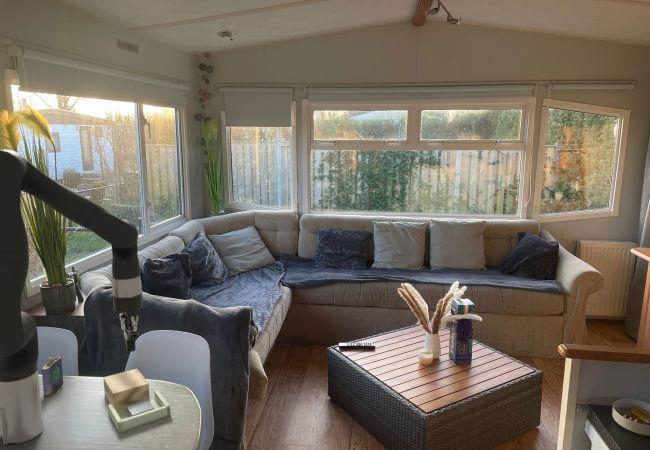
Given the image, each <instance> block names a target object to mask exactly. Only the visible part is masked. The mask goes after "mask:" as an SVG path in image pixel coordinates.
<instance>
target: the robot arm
mask: <svg viewBox="0 0 650 450" xmlns="http://www.w3.org/2000/svg"><path fill="white" fill-rule="evenodd" d="M22 192H23V193H26V194H28V195H30V196H32V197H35V198H36V199H38V200H39V201H41V202H43V203H44V204H46V205H47V206H49V207H50V208H51V209H53V210H54V211H55V212H56V213H59V215H61V216H62V217H65V219H67V220H70V222H73V223H75V224H77V225H78V226H81V227H82V228H85V229H86V230H87V231H90V232H92V233H94V234H96V235H97V236H98V237H99V238H101V239H102V240H104V241H105V242H107V243H109V244H110V246H111V252H112V255H111V256H112V260H111V272H112V273H111V275H112V283H111V289H112V304H113V305H112V306H113V310H114V311H115V312H117V313H120V314H118V319H119V323H120V328H121V333H122V334H123V337H124V339H125V350H126V352H128V353H131V352H135V351H136V350H137V348H136V339H138V338H139V334H140V331H141V330H140V329H141V325H140V324H138V322H139V315H138V314H137V311H138V310H140V309H142V307H143V305H144V304H143V287H142V280H141V267H140V260H139V255H138V251H139V250H138V239H139V232H138V231H139V230H138V228H137V226H136V225H135V223H133V222H132V221H131V220H128V219H121V218H119V217H117V216H115V215H114V214H112V213H110V212H109V211H108V210H107V209H106V208H105V207H103V206H102V205H100V204H98V203H96V202H95V201H93V200H91V199H89V198H88V197H86V196H85V195H82V194H80V193H78V192H76V191H75V190H73V189H71V188H69V187H67V186H66V185H63V184H62V183H60V182H58V181H57V180H55V179H53V178H52V177H50V176H49V175H47V174H46V173H44V172H43V171H41V170H40V169H39V168H37V167H36V166H35V165H34V164H32V163H31V162H30V161H29V160H27V159H26V158H25V157H23V155H21V154H20V153H19V152H18V151H15V150H11V149H7V148H3V149H0V429H1V434H2V435H1V437H2V443H3V445H4V444H6V445H8V444H7V443H16V444H21V443H25V442H29V441H31V440H33V439H35V438H37V437H38V436H39V435H40V434H41V433H42V432H43V431H44V418H43V409H42V402H41V401H42V400H41V391H40V383H39V371H38V360H39V352H40V351H39V349H40V348H39V336H38V334H39V333H38V327H37V323H36V321H35V319H34V317H33V316H32V315H31V314H29V313H27V312H26V311H22V297H23V292H24V288H25V286H26V282H27V278H28V273H29V269H30V268H29V267H30V249H29V246H30V245H29V238H28V233H27V232H28V231H27V228H26V225H25V222H24V217H23V214H22V209H21V195H22Z"/></svg>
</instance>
